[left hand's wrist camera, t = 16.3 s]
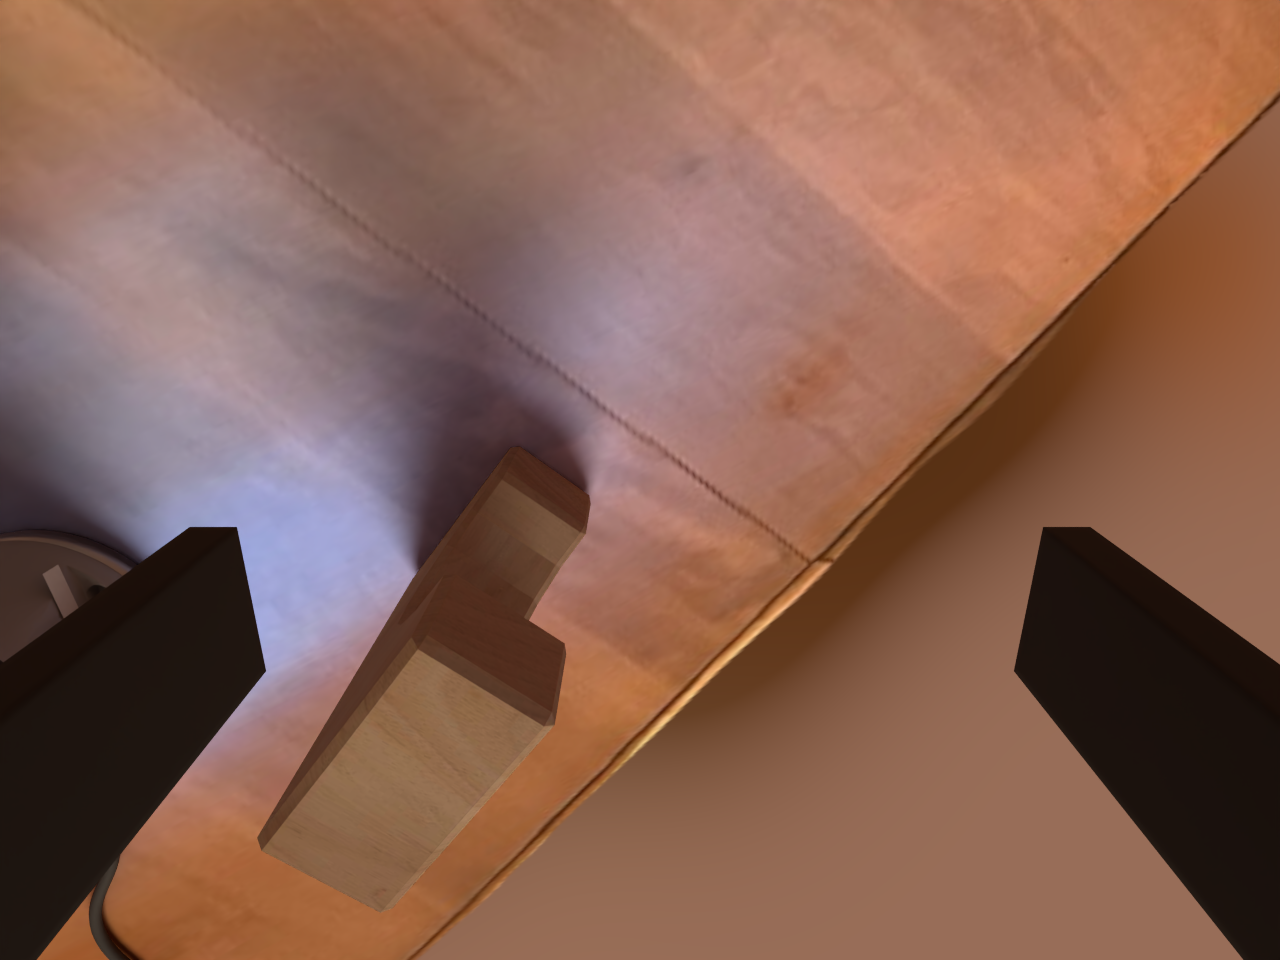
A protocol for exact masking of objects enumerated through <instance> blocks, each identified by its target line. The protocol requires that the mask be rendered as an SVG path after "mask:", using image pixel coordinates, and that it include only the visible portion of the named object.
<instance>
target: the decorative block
mask: <svg viewBox="0 0 1280 960" xmlns="http://www.w3.org/2000/svg"><path fill="white" fill-rule="evenodd" d="M590 504H591V503H590V497H589V495H588V494H586V493H585V492H584V491H582V490H581V489H579V488H578V487H577V486H575V485H574V484H572V483H571V482H569V481H568V480H567V479H565V478H564V477H562V476H561V475H559V474H558V473H557V472H555V471H554V470H552V469H551V468H550V467H548V466H547V465H545V464H544V463H542V462H541V461H540V460H538V459H537V458H535V457H534V456H532V455H531V454H530V453H528V452H527V451H525V450H524V449H523V448H521V447H520V446H519V447H511V448H510V449H509V450H508V452H507V453H506V454H505V456H504V457H503V458H502V460H501V461H500V462H499V464H498V465H497V466H496V468H495V469H494V470H493V472H492V473H491V475H490V476H489V477H488V479H487V480H486V481H485V483H484V484H483V485H482V487H481V488H480V489H479V491H478V492H477V493H476V495H475V496H474V497H473V499H472V500H471V501H470V503H469V504H468V505H467V507H466V508H465V509H464V511H463V512H462V513H461V515H460V516H459V517H458V519H457V520H456V521H455V523H454V524H453V525H452V527H451V528H450V530H449V531H448V532H447V534H446V535H445V536H444V538H443V539H442V540H441V542H440V543H439V544H438V546H437V547H436V548H435V550H434V551H433V552H432V554H431V555H430V556H429V558H428V559H427V560H426V562H425V563H424V564H423V566H422V567H421V568H420V570H419V571H418V572H417V574H416V575H415V576H414V578H413V579H412V581H411V583H410V584H409V586H408V588H407V589H406V591H405V593H404V594H403V596H402V598H401V599H400V601H399V603H398V604H397V606H396V608H395V609H394V611H393V613H392V614H391V616H390V617H389V619H388V621H387V622H386V624H385V626H384V627H383V629H382V631H381V632H380V634H379V636H378V637H377V639H376V641H375V642H374V644H373V646H372V647H371V649H370V651H369V652H368V654H367V656H366V657H365V659H364V661H363V662H362V664H361V666H360V667H359V669H358V671H357V672H356V674H355V676H354V677H353V679H352V681H351V682H350V684H349V686H348V687H347V689H346V691H345V692H344V694H343V696H342V697H341V699H340V701H339V702H338V704H337V706H336V707H335V709H334V711H333V712H332V714H331V716H330V717H329V719H328V721H327V722H326V724H325V726H324V727H323V729H322V731H321V732H320V734H319V736H318V737H317V739H316V741H315V742H314V744H313V746H312V747H311V749H310V751H309V752H308V754H307V756H306V757H305V759H304V761H303V762H302V764H301V766H300V767H299V769H298V771H297V772H296V774H295V776H294V777H293V779H292V781H291V782H290V784H289V786H288V787H287V789H286V791H285V792H284V794H283V796H282V797H281V799H280V801H279V802H278V804H277V806H276V807H275V809H274V811H273V812H272V814H271V816H270V817H269V819H268V821H267V822H266V824H265V826H264V827H263V829H262V831H261V832H260V834H259V836H258V837H257V838H258V841H259V844H260V847H261V850H262V851H263V852H265V853H267V854H269V855H271V856H273V857H275V858H277V859H278V860H280V861H282V862H284V863H286V864H288V865H290V866H292V867H294V868H296V869H298V870H300V871H302V872H303V873H305V874H307V875H309V876H311V877H313V878H315V879H317V880H319V881H321V882H323V883H325V884H327V885H328V886H330V887H332V888H334V889H336V890H338V891H340V892H342V893H344V894H346V895H348V896H350V897H352V898H353V899H355V900H357V901H359V902H361V903H363V904H365V905H367V906H369V907H371V908H373V909H375V910H376V911H378V912H380V913H381V912H384V911H386V910H389V909H392V908H393V907H394V906H395V905H396V903H397V902H398V901H399V900H400V899H401V898H402V897H403V896H404V895H405V893H406V892H407V891H408V890H409V889H410V888H411V887H412V886H413V884H414V883H415V882H416V881H417V880H418V879H419V878H420V877H421V875H422V874H423V873H424V872H425V871H426V870H427V869H428V868H429V866H430V865H431V864H432V863H433V862H434V861H435V860H436V859H437V857H438V856H439V855H440V854H441V853H442V852H443V851H444V850H445V848H446V847H447V846H448V845H449V844H450V843H451V842H452V841H453V839H454V838H455V837H456V836H457V835H458V834H459V833H460V832H461V830H462V829H463V828H464V827H465V826H466V825H467V824H468V823H469V821H470V820H471V819H472V818H473V817H474V816H475V815H476V814H477V812H478V811H479V810H480V809H481V808H482V807H483V806H484V804H485V803H486V802H487V801H488V800H489V799H490V798H491V797H492V795H493V794H494V793H495V792H496V791H497V790H498V789H499V787H500V786H501V785H502V784H503V783H504V782H505V781H506V779H507V778H508V777H509V776H510V775H511V774H512V773H513V772H514V770H515V769H516V768H517V767H518V766H519V765H520V764H521V762H522V761H523V760H524V759H525V758H526V757H527V756H528V755H529V753H530V752H531V751H532V750H533V749H534V748H535V747H536V745H537V744H538V743H539V742H540V741H541V740H542V739H543V738H544V736H545V735H546V734H547V733H548V732H549V731H550V730H551V728H552V727H553V726H554V725H555V719H556V713H557V707H558V701H559V694H560V688H561V682H562V676H563V670H564V664H565V658H566V650H565V644H564V643H563V642H561V641H560V640H558V639H557V638H555V637H554V636H552V635H550V634H549V633H547V632H546V631H544V630H543V629H541V628H540V627H538V626H536V625H535V624H533V623H532V622H530V621H529V619H530V617H531V615H532V614H533V612H534V610H535V608H536V606H537V604H538V603H539V601H540V600H541V598H542V596H543V595H544V593H545V592H546V590H547V588H548V587H549V585H550V584H551V582H552V580H553V579H554V577H555V576H556V574H557V572H558V571H559V569H560V568H561V566H562V565H563V564H564V562H565V561H566V560H567V558H568V557H569V556H570V554H571V553H572V552H573V550H574V549H575V548H576V546H577V545H578V544H579V542H580V541H581V539H582V538H583V537H584V535H585V534H586V529H587V523H588V517H589V510H590Z"/></svg>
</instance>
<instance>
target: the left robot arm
mask: <svg viewBox="0 0 1280 960" xmlns="http://www.w3.org/2000/svg"><path fill="white" fill-rule="evenodd" d="M265 672H266V669H265V664H264V659H263V654H262V649H261V644H260V639H259V634H258V629H257V624H256V619H255V614H254V609H253V604H252V600H251V595H250V590H249V585H248V580H247V575H246V570H245V565H244V560H243V555H242V550H241V545H240V540H239V535H238V531H237V527H189V528H188V529H186V530H185V531H184V532H182V533H181V534H180V535H178V536H177V537H175V538H174V539H173V540H171V541H170V542H169V543H167V544H166V545H164V546H163V547H162V548H160V549H159V550H158V551H156V552H155V553H153V554H152V555H151V556H149V557H148V558H146V559H145V560H144V561H142V562H141V563H140V564H138V565H137V564H136V563H134V562H133V561H131V560H130V559H128V558H127V557H125V556H123V555H122V554H120V553H118V552H116V551H115V550H113V549H111V548H108V547H106V546H104V545H102V544H100V543H97V542H95V541H92V540H89V539H87V538H83V537H80V536H76V535H73V534H68V533H63V532H57V531H49V530H21V531H14V532H9V533H4V534H0V960H37V958H38V957H39V956H40V955H41V953H42V952H43V951H44V950H45V948H46V947H47V946H48V945H49V943H50V942H51V941H52V940H53V938H54V937H55V936H56V935H57V933H58V932H59V931H60V930H61V928H62V927H63V926H64V924H65V923H66V922H67V921H68V919H69V918H70V917H71V916H72V914H73V913H74V912H75V911H76V909H77V908H78V907H79V906H80V904H81V903H82V902H83V901H84V899H85V898H86V897H87V896H88V894H89V893H90V892H91V891H92V889H93V888H94V887H95V886H96V884H97V883H98V884H97V886H96V888H95V890H94V893H93V896H92V899H91V902H90V907H89V922H90V928H91V932H92V935H93V937H94V939H95V941H96V943H97V945H98V946H99V948H100V949H101V951H102V952H103V953H104V954H105V955H106V957H107V958H108V959H109V960H130V959H129V958H128V957H127V956H126V955H125V954H123V953H122V951H121V950H120V949H119V948H118V947H117V946H116V945H115V944H114V943H113V941H112V940H111V938H110V937H109V935H108V934H107V931H106V929H105V927H104V924H103V920H102V906H103V901H104V898H105V895H106V893H107V890H108V888H109V886H110V883H111V881H112V879H113V877H114V875H115V872H116V869H117V866H118V862H119V857H120V854H121V853H122V852H123V850H124V849H125V848H126V847H127V845H128V844H129V843H130V841H131V840H132V839H133V838H134V836H135V835H136V834H137V833H138V831H139V830H140V829H141V828H142V826H143V825H144V824H145V823H146V821H147V820H148V819H149V818H150V816H151V815H152V814H153V813H154V811H155V810H156V809H157V808H158V806H159V805H160V804H161V802H162V801H163V800H164V799H165V797H166V796H167V795H168V794H169V792H170V791H171V790H172V789H173V787H174V786H175V785H176V784H177V782H178V781H179V780H180V779H181V777H182V776H183V775H184V774H185V772H186V771H187V770H188V769H189V767H190V766H191V765H192V763H193V762H194V761H195V760H196V758H197V757H198V756H199V755H200V753H201V752H202V751H203V750H204V748H205V747H206V746H207V745H208V743H209V742H210V741H211V740H212V738H213V737H214V736H215V735H216V733H217V732H218V731H219V730H220V728H221V727H222V726H223V725H224V723H225V722H226V721H227V719H228V718H229V717H230V716H231V714H232V713H233V712H234V711H235V709H236V708H237V707H238V706H239V704H240V703H241V702H242V701H243V699H244V698H245V697H246V696H247V694H248V693H249V692H250V691H251V689H252V688H253V687H254V686H255V684H256V683H257V682H258V680H259V679H260V678H261V677H262V675H263V674H264V673H265ZM1014 672H1015V673H1016V674H1017V675H1018V677H1019V678H1020V679H1021V680H1022V682H1023V683H1024V684H1025V685H1026V687H1027V688H1028V689H1029V691H1030V692H1031V693H1032V694H1033V696H1034V697H1035V698H1036V699H1037V701H1038V702H1039V703H1040V704H1041V706H1042V707H1043V708H1044V709H1045V711H1046V712H1047V713H1048V714H1049V716H1050V717H1051V718H1052V719H1053V721H1054V722H1055V723H1056V725H1057V726H1058V727H1059V728H1060V730H1061V731H1062V732H1063V733H1064V735H1065V736H1066V737H1067V738H1068V740H1069V741H1070V742H1071V743H1072V745H1073V746H1074V747H1075V748H1076V750H1077V751H1078V752H1079V753H1080V755H1081V756H1082V757H1083V758H1084V760H1085V761H1086V762H1087V763H1088V765H1089V766H1090V767H1091V769H1092V770H1093V771H1094V772H1095V774H1096V775H1097V776H1098V777H1099V779H1100V780H1101V781H1102V782H1103V784H1104V785H1105V786H1106V787H1107V789H1108V790H1109V791H1110V792H1111V794H1112V795H1113V796H1114V797H1115V799H1116V800H1117V801H1118V802H1119V804H1120V805H1121V806H1122V807H1123V809H1124V810H1125V811H1126V813H1127V814H1128V815H1129V816H1130V818H1131V819H1132V820H1133V821H1134V823H1135V824H1136V825H1137V826H1138V828H1139V829H1140V830H1141V831H1142V833H1143V834H1144V835H1145V836H1146V838H1147V839H1148V840H1149V841H1150V843H1151V844H1152V845H1153V846H1154V848H1155V849H1156V850H1157V852H1158V853H1159V854H1160V855H1161V857H1162V858H1163V859H1164V860H1165V862H1166V863H1167V864H1168V865H1169V867H1170V868H1171V869H1172V870H1173V872H1174V873H1175V874H1176V875H1177V877H1178V878H1179V879H1180V880H1181V882H1182V883H1183V884H1184V886H1185V887H1186V888H1187V889H1188V891H1189V892H1190V893H1191V894H1192V896H1193V897H1194V898H1195V899H1196V901H1197V902H1198V903H1199V904H1200V906H1201V907H1202V908H1203V909H1204V911H1205V912H1206V913H1207V914H1208V916H1209V917H1210V918H1211V919H1212V921H1213V922H1214V923H1215V924H1216V926H1217V927H1218V928H1219V930H1220V931H1221V932H1222V933H1223V935H1224V936H1225V937H1226V938H1227V940H1228V941H1229V942H1230V943H1231V945H1232V946H1233V947H1234V948H1235V950H1236V951H1237V952H1238V953H1239V955H1240V956H1241V957H1242V958H1243V960H1280V664H1278V663H1277V662H1276V661H1274V660H1273V659H1271V658H1270V657H1269V656H1267V655H1266V654H1265V653H1263V652H1262V651H1260V650H1259V649H1258V648H1256V647H1255V646H1253V645H1252V644H1251V643H1249V642H1248V641H1247V640H1245V639H1244V638H1242V637H1241V636H1240V635H1238V634H1237V633H1236V632H1234V631H1233V630H1231V629H1230V628H1229V627H1227V626H1226V625H1225V624H1223V623H1222V622H1220V621H1219V620H1218V619H1216V618H1215V617H1213V616H1212V615H1211V614H1209V613H1208V612H1207V611H1205V610H1204V609H1202V608H1201V607H1200V606H1198V605H1197V604H1196V603H1194V602H1193V601H1191V600H1190V599H1189V598H1187V597H1186V596H1185V595H1183V594H1182V593H1180V592H1179V591H1178V590H1176V589H1175V588H1174V587H1172V586H1171V585H1169V584H1168V583H1167V582H1165V581H1164V580H1162V579H1161V578H1160V577H1158V576H1157V575H1156V574H1154V573H1153V572H1151V571H1150V570H1149V569H1147V568H1146V567H1144V566H1143V565H1142V564H1140V563H1139V562H1138V561H1136V560H1135V559H1133V558H1132V557H1131V556H1129V555H1128V554H1127V553H1125V552H1124V551H1122V550H1121V549H1120V548H1118V547H1117V546H1116V545H1114V544H1113V543H1111V542H1110V541H1109V540H1107V539H1106V538H1104V537H1103V536H1102V535H1100V534H1099V533H1098V532H1096V531H1095V530H1094V529H1092V528H1091V527H1043V531H1042V535H1041V541H1040V545H1039V550H1038V555H1037V560H1036V565H1035V570H1034V575H1033V580H1032V585H1031V590H1030V595H1029V600H1028V604H1027V609H1026V614H1025V619H1024V624H1023V629H1022V634H1021V639H1020V644H1019V649H1018V654H1017V659H1016V664H1015V669H1014Z"/></svg>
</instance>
